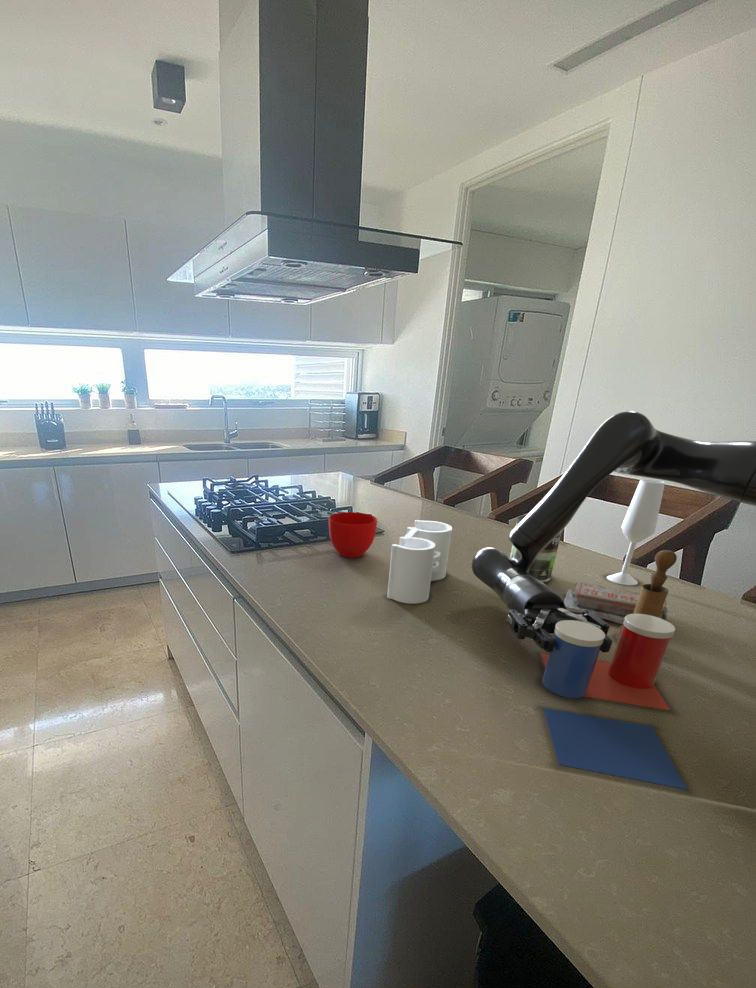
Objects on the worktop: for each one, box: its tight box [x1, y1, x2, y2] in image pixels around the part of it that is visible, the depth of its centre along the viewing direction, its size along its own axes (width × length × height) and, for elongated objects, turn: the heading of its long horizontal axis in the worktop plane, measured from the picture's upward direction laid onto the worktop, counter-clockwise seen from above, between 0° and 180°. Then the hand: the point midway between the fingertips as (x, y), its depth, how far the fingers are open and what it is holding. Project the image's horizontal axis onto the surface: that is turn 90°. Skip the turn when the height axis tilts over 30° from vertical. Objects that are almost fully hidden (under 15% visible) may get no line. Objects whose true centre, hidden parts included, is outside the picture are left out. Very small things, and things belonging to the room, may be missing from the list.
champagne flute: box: [606, 478, 666, 586], centre depth 114 cm, size 7×7×24 cm
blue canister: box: [541, 620, 605, 699], centre depth 74 cm, size 7×7×10 cm
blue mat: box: [543, 707, 689, 790], centre depth 64 cm, size 14×12×1 cm
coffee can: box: [509, 514, 563, 584], centre depth 118 cm, size 10×10×14 cm
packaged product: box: [563, 581, 669, 625], centre depth 101 cm, size 18×5×10 cm
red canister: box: [608, 614, 676, 689], centre depth 77 cm, size 7×7×10 cm
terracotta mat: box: [540, 653, 671, 711], centre depth 78 cm, size 16×12×1 cm
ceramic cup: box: [328, 511, 378, 559], centre depth 133 cm, size 13×17×10 cm
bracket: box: [386, 519, 453, 605], centre depth 112 cm, size 25×10×12 cm, turn 154°
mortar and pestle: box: [615, 549, 678, 641], centre depth 86 cm, size 7×6×18 cm
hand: (580, 647), depth 72 cm, fingers open, 8 cm apart
